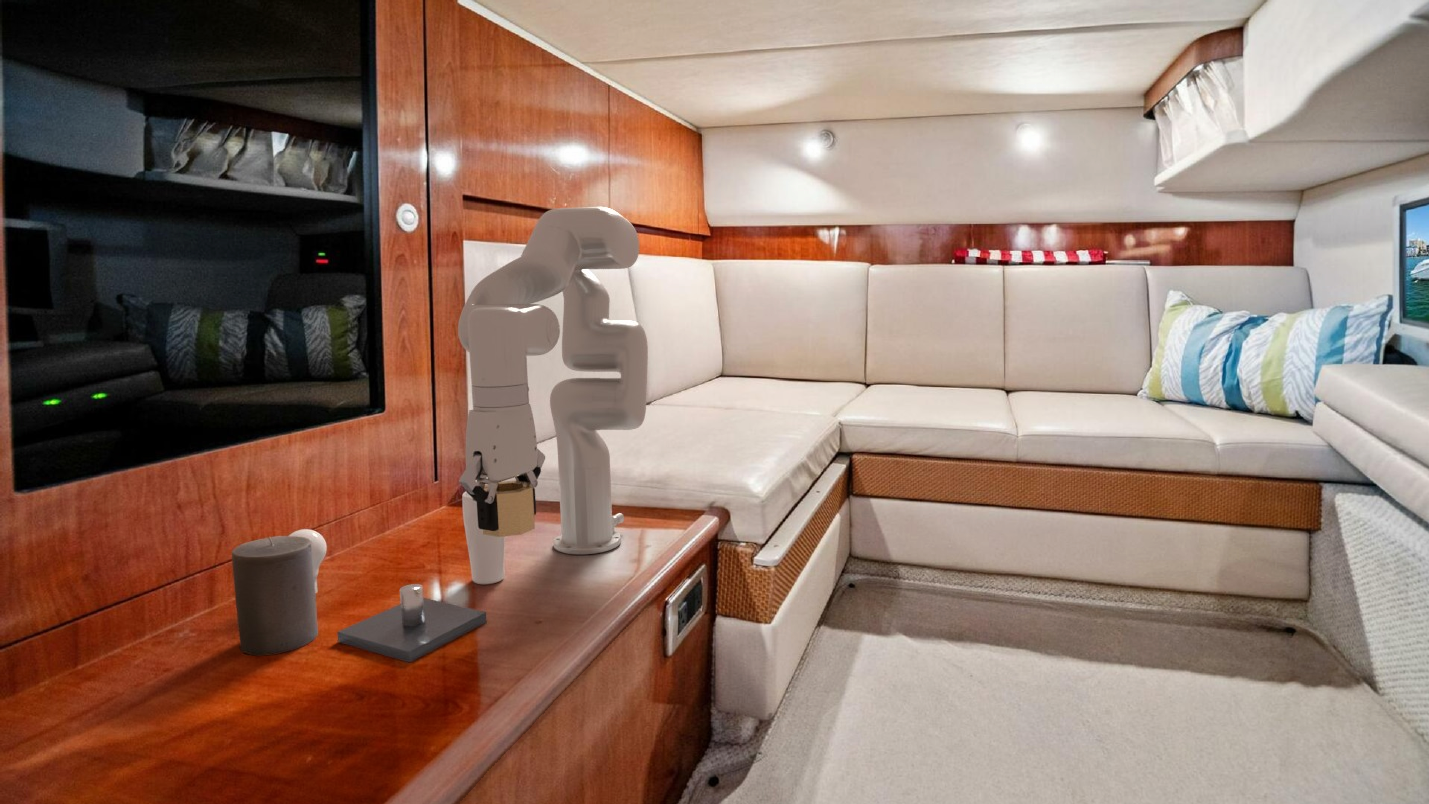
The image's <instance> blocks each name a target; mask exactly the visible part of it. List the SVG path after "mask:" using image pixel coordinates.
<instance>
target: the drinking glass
mask: <svg viewBox="0 0 1429 804" xmlns="http://www.w3.org/2000/svg"><path fill="white" fill-rule="evenodd" d="M461 497H462V499H461V500H462V501H461V502H462V519H463V524H464V526H463V527H464V531H465V537H466V545H467V550H468V556H469V563H470V573H471V580H472V582H473V583H475V584H478V585H494V584H496V583H499V582H501V581H502V580H503V579H504V578H505V574H506V572H505V569H506V568H505V553H506V552H505V551H506V549H505V548H506V536H504V537H496V536H490V535H484V534H483V529H479V527H478V516H477V502H475V501H473V499H472V497H471V496H470V495H469V494H468V493H467V491H464V492H463V493H462V495H461Z"/></svg>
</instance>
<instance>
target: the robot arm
mask: <svg viewBox="0 0 1429 804" xmlns="http://www.w3.org/2000/svg"><path fill="white" fill-rule="evenodd" d="M529 236H530V237H529V239H528V241H527V242H526V245H525V246H524V248H523V251H522V252H521V255H520V256H519V257H518V258H516V259H514V260H512V261H509V262H508V263H506V264H505V265H503V266H502V267H500V268H498V269H496V270H494V271H493V272H491V273H490V274H488V275H486V276H485V277H484V278H482V280H480V281H479V282H478V283H477V284H476V285H475V286H474V288H473V289H472V290H471V292H470V294H469V296H468V298H467V300H466V302H465V303H464V305H463V308H462V309H461V313H460V315H459V319H458V325H457V335H458V339H459V342H460V344H461V346H462V348H464V350H465V351H466V352H468V353H469V363H470V382H471V396H472V397H471V398H472V409H470V410H469V411H468V415H467V422H466V429H465V430H466V432H465V470H464V471H463V473H462V474H461V476H460V477H459V480H458V482H459V484H460V485H461V486H462V487H463V489H464V490H465V491H466V492H467V493H468V494H469V495H470V496H471V497H472V499H473V501H475V502H477V516H478V527H479V529H483V530H489V531H496V530H498V528H499V524H498V507H497V502H493V500H494V497H495V493H496V490H497V486H498V482H505V481H509V480H510V479H515V481H522V482H530V483H531V484H532V487H533V504H534V516H536V514H537V502H536V488H537V487H538V485H539V484H538V483H539V481H538V478H539V476H540V475H541V473H542V471H541V470H542V467H543V465H544V463H545V460H546V455H545V454H544V453H543V452H542V451H541V450H540V449H539V448H538V443H537V442H538V441H537V432H536V425H535V420H534V415H533V411H532V407H531V403H530V397H529V391H530V387H529V382H528V381H529V379H528V361H527V360H528V359H527V356H528V357H530V356H531V357H533V356H534V357H535V356H543V355H545V354H547V353H549V352H551V351H552V350H553V349H554V348H555V347H556V345H557V343H558V341H559V338H560V333H561V327H560V322H559V319H558V317H557V315H556V313H555V312H554V311H553V310H552V309H551V308H549V307H548V306H545V305H542V304H539V303H538V302H541V301H544V300H546V299H550V298H552V297H554V296H557V295H559V294H560V293H561V292H562V294H563V295H562V296H563V315H562V333H561V335H562V336H561V355H562V356H561V357H562V361H563V364H564V365H565V366H566V367H567V369H570V370H572V371H574V372H575V371H576V372H588V373H590V372H593V373H595V372H598V373H599V372H600V373H602V372H604V373H605V372H607V373H608V372H609V373H610V372H615V373H617V372H618V373H619V374H620V378H619V377H612V378H610V377H609V378H608V377H607V378H606V377H604V378H603V377H573V378H567V379H563V380H562V381H559V382H558V383H556V384H555V385H554V386H553V388H552V390H551V393H550V396H549V397H550V398H549V407H550V412H551V413H550V414H551V417H552V420H553V426H554V430H555V432H554V433H555V436H556V447H557V459H558V460H557V466H558V485H559V507H560V508H559V512H560V527H561V528H560V531H561V532H560V533H561V534H559V535H557V536H556V537H554V539H553V548H554V549H555V550H556V551H558V552H560V553H563V554H568V555H593V554H599V553H605V552H609V551H611V550H613V549H615V548H617V547H618V546H620V545H621V543H622V536H621V535H620V533H618V532H616V531H615V528H616V526H617V525H619V524H621V523H623V522H624V521H625V516H624V514H623V513H620V512H619V513H616V514H612V513H613V509H612V508H613V507H612V486H611V485H612V484H611V481H612V480H611V456H610V450H609V448H608V445H607V444H606V442H605V440H604V439H603V438H602V437H601V435H600V434H599V432H598V431H604V430H605V431H629V430H631V431H632V430H636V429H638V428H639V427H641V426H642V425H643V423H644V422H645V421H644V420H645V418H646V410H647V395H648V394H647V391H648V359H649V358H648V357H649V355H648V354H649V350H648V349H649V348H648V346H649V345H648V340H647V339H648V338H647V334H646V332H645V328H643V326H642V325H641V324H640V323H638V322H637V321H634V320H623V319H621V320H620V319H619V320H616V319H615V320H610V302H611V301H610V294H609V292H608V290H607V289H606V288H605V286H604V285H603V283H602V282H601V281H600V279H598V277H596V275H595V274H594V273H593V272H592V271H591V270H622V269H623V270H625V269H629V268H631V267H633V266H634V265H635V264H636V262H637V260H638V258H639V254H640V240H639V235H638V232H637V230H636V229H635V227H634V226H633V224H632V223H631V222H630V221H629V220H628V219H627V218H625V217H624V216H623V215H621V214H620V213H618V212H617V211H615V210H613V209H611V208H608V207H605V206H604V207H603V206H586V207H583V206H582V207H581V206H580V207H560V208H558V207H557V208H553V209H549V210H547V211H545V212H544V213H543V214H542V215H541V216H540V217H539V218H538V220H537V222H536V223H535V226H534V228H533V230H532V232H531V234H530V235H529ZM537 303H538V304H537ZM485 485H488V488H487V492H486V491H485V490H484V487H485Z"/></svg>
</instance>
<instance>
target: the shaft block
mask: <svg viewBox="0 0 1429 804" xmlns="http://www.w3.org/2000/svg"><path fill="white" fill-rule="evenodd" d="M399 597H400V604H398V605H397V604H396V605H395V606H393V607H390V608H387V609H386V610H384V611H382V612H380V613H377V614H374V615H372V616H370V617H368V618H365V619H363V620H360V621H358V622H356V623H354V624H352V625H350V626H347V627H345V628H343V629H341V630H338V631H337V642H338V643H340V644H343V645H348V646H351V647H354V648H357V649H361V650H364V651H367V652H372V653H375V654H379V655H381V656H382V655H383V656H385V657H388V658H393V659H396V660H400V661H402V662H406V663H411V662H412V663H413V661H416V660H417V659H419V658H421V657H424V656H425V655H427V654H429V653H431V652H433V651H435V650H437V649H438V648H440V647H442V646H444V645H445V644H448V643H450V642H451V641H453V640H456V639H458V638H459V637H461V636H463V635H465V634H467V633H468V632H470V631H472V630H475V629H476V628H478V627H481V626H482V625H484V624H486V623H487V622H488V620H487V619H488V618H487V612H486V611H483V610H482V611H481V610H478V609H474V608H470V607H465V606H461V605H458V604H457V605H456V604H452V603H448V602H444V601H439V600H434V599H432V598H431V599H430V598H425V597H424V589H423V585H422V584H419V583H414V584H413V583H412V584H407V585H404V586H402V587H400V588H399Z"/></svg>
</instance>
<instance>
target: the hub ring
mask: <svg viewBox="0 0 1429 804" xmlns="http://www.w3.org/2000/svg"><path fill="white" fill-rule="evenodd" d="M487 488H488V484H485V487H484V490H485V491H486V492H487ZM493 502H497V507H498V524H499V528H498V530H496V531H489V530H483V534H484V535H490V536H496V537H504V536H505V537H510V536H519V535H523V534H525V533H528V532H531V531H533V530H535V529H536V527H535V526H536V525H535V524H536V523H535V515H534V504H533V487H532V484H531V483H530V482H522V481H516V480H505V481H502V482H498V486H497V490H496V493H495V497H494V500H493Z"/></svg>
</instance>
